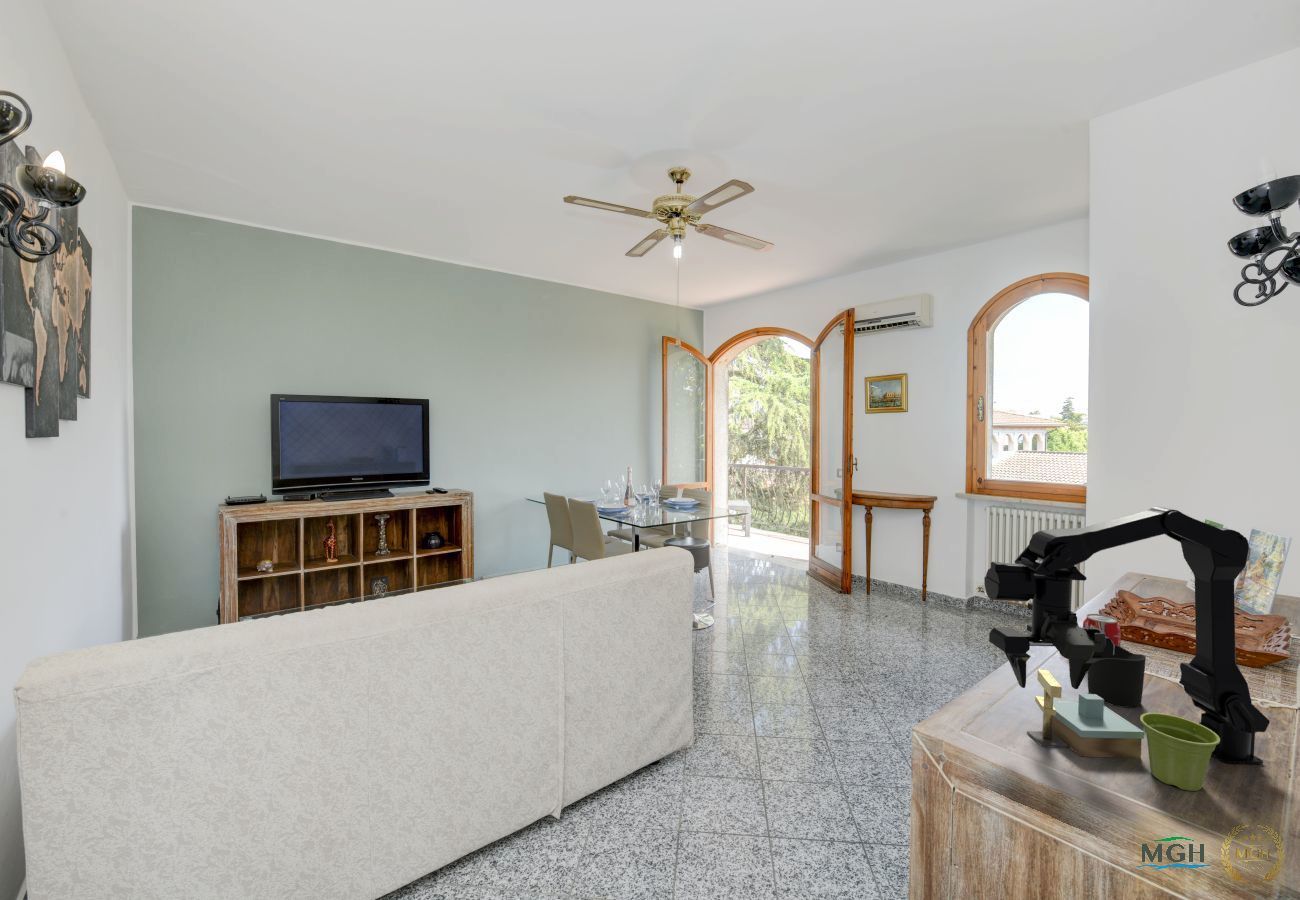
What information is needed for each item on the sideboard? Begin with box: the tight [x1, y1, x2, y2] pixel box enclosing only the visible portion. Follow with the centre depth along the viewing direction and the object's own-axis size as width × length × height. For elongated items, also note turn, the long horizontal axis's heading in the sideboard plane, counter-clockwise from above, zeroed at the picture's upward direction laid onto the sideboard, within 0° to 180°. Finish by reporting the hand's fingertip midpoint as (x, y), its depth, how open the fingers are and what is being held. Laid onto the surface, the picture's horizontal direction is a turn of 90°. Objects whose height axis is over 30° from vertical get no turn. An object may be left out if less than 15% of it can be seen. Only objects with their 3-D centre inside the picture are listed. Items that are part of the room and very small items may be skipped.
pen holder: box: [1087, 645, 1147, 708], centre depth 119 cm, size 9×9×10 cm
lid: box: [1053, 693, 1145, 739], centre depth 103 cm, size 10×10×5 cm
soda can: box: [1082, 613, 1122, 647], centre depth 134 cm, size 7×7×12 cm
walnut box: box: [1026, 716, 1143, 759], centre depth 103 cm, size 15×10×4 cm
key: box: [1034, 669, 1063, 740], centre depth 104 cm, size 8×2×11 cm, turn 162°
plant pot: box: [1139, 712, 1220, 792], centre depth 92 cm, size 9×9×9 cm
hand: (1048, 687), depth 103 cm, fingers open, 9 cm apart
